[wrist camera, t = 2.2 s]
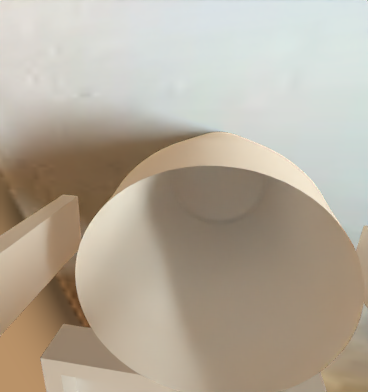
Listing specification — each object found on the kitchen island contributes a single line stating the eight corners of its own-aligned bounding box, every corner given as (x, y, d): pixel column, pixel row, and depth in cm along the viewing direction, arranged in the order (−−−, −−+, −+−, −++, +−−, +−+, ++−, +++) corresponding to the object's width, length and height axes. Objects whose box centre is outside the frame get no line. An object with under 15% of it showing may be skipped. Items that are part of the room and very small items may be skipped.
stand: (111, 252, 23) (40, 357, 14) (288, 274, 22) (331, 407, 13) (117, 371, 28) (67, 503, 20) (259, 396, 27) (276, 550, 18)
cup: (141, 213, 22) (52, 349, 11) (176, 92, 18) (98, 107, 7) (254, 253, 22) (284, 432, 10) (311, 139, 18) (447, 230, 7)
